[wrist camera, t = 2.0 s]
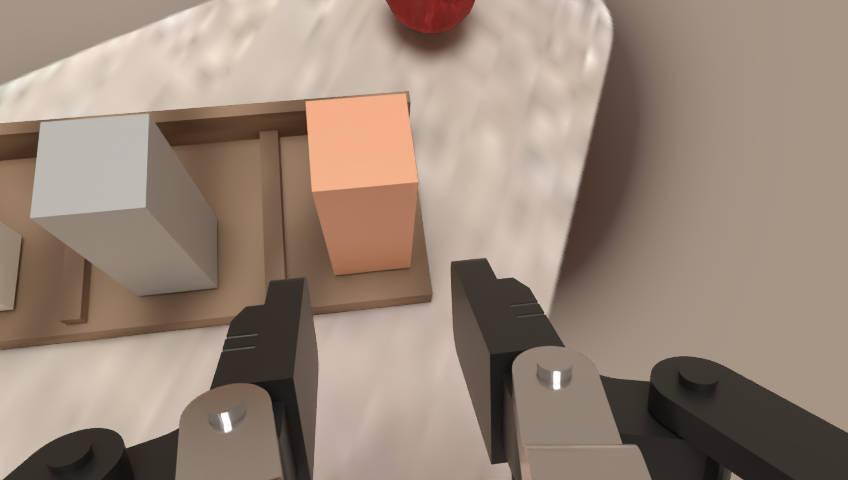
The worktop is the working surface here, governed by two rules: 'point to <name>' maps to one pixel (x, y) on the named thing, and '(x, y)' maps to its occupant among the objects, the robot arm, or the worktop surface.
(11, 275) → the cream rectangular block
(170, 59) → the worktop surface
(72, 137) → the grey rectangular block
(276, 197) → the wooden divided tray
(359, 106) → the orange block
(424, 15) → the onion
